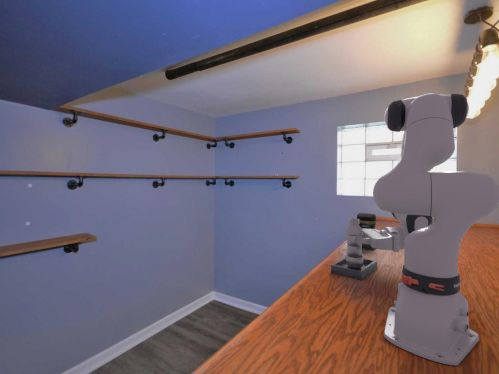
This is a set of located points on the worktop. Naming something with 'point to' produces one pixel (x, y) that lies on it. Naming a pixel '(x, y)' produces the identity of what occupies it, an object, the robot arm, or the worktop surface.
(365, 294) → the worktop surface
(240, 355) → the worktop surface
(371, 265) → the serving tray
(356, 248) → the plastic bottle
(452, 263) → the robot arm
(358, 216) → the coffee jar
